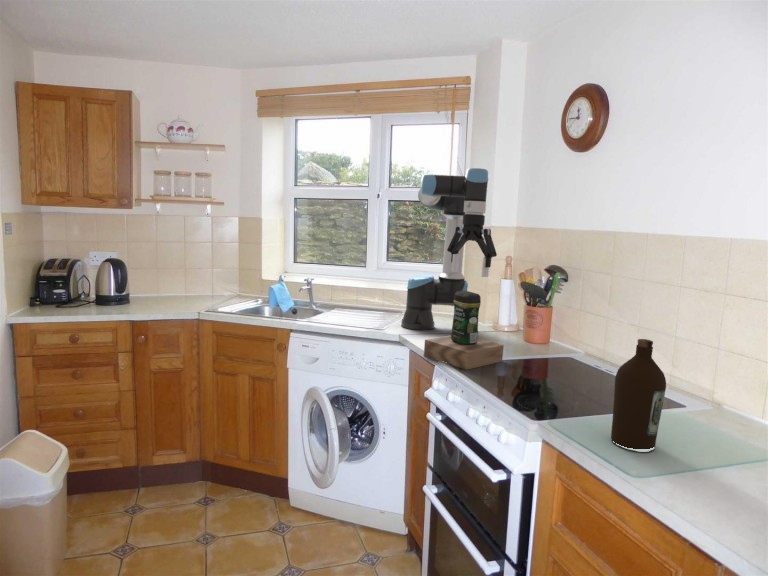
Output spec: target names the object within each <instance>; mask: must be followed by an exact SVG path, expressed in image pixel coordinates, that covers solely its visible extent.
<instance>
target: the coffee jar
mask: <svg viewBox="0 0 768 576" xmlns="http://www.w3.org/2000/svg"><path fill="white" fill-rule="evenodd" d="M481 300H482V299H481V295H480V294H479V293H476V292H472V291H468V290H467V291H457V292H456V293H455V296H454V306H453V307H454V308H453V316H452V317H453V318H452V324H451V325H452V326H451V327H452V328H451V339H452V340H453V341H455V342H457V343H460V344H468V345H473V344H475V343H477V341H478V338H479V315H480V314H479V313H480V312H479V311H480V307H481V303H482V302H481Z"/></svg>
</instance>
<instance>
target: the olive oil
mask: <svg viewBox="0 0 768 576" xmlns="http://www.w3.org/2000/svg"><path fill="white" fill-rule="evenodd" d="M653 345H654V341H653V340H651V339H648V338H647V339H646V338H638V339H637V344H636V348H635V355H633V357H631V358H630V359H628V360H627V361H626V362H624V363H623V364H622V365H621V366H619V368H618V369H617V372H616V374H615V378H614V391H613V392H614V393H613V405H612V407H613V408H612V409H613V410H612V422H611V433H610V440H611V439H612V441H614V442H615V443H617V444H619V445H621V446H624V447H627V448H633V449H650V448H653V447H655V448H656V444H657V438H658V437H657V436H658V432H659V426H660V422H661V416H662V410H663V405H664V400H665V395H666V390H667V381H666V379H667V378H666V377H665V373H664V372H663V370H662V369H661V368H660V367H659V366H658V364H657V363H656V362H655V361H654V360H655V359H653V351H654V347H653ZM612 441H611V442H612Z"/></svg>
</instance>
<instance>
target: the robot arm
mask: <svg viewBox="0 0 768 576" xmlns="http://www.w3.org/2000/svg"><path fill="white" fill-rule="evenodd" d="M488 182H489V170H487V169H486V168H479V167H478V168H475V167H474V168H473V167H472V168H467V170H466V174H465V175H450V174H449V175H447V174H433V173H429V174H428V173H426V174H425V173H424V174H422V176H421V182H420V183H421V184H420V188H419V189H418V192H417V197H418V201H419V202H420V204H422V205H423V206H424V207H427V208H428V209H431V210H435V211H443V216H444V217H445V218H446V222H445V232H444V233H445V236H444V247H443V248H444V249H443V260H442V261H443V263H442V271H441V272H440V273H439V274H438V279H437V278H436V279H435V277H434V275H416V276H415V275H414V276H411V277H409V278H408V281H407V287H406V289H407V294H406V305H405V306H406V307H405V312H404V313H403V317H402V319H401V325H400V326H402V328H405V329H408V330H415V331H416V330H417V331H428V330H434V329H435V320H434V316H433V312H432V311H433V308H432V307H433V306H449V307H454V296H455V293H456V292H457V291H468V285H469V283H468V280H465V278H466V277H465V275H463V273H462V272H463V259H464V247H465V244H466V243H467V242H468V241H472V242H476V243H477V245H478V247H479V248H480V251H481V253H482V254H483V255H484V257H482V264H481V265H482V266H481V267H482V268H481V277H482V278H488V277H489V269H490V268H491V266H492V259H493V258H495V257H497V255H498V254H497V251H496V248H495V244H494V241H493V238H492V230H491V228H484V226H485V221H486V220H485V218H486V216H485V214H486V210H487V209H486V208H487V207H486V206H487V193H488V185H489V184H488Z"/></svg>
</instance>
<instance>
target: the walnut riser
mask: <svg viewBox="0 0 768 576" xmlns="http://www.w3.org/2000/svg"><path fill="white" fill-rule="evenodd" d="M423 346H424V348H423V356H424V357H427V358H429V359H433V360H436V361H439V362H441V361H444V362H447V363H449V364H448V365H450V366H453V367H457V368H461V369H463V370H466V371H468V370H472V369H475V368H480V367H484V366H488V365H492V364H497V363H501V362H503V358H504V344H502V343H498V342H493V341H490V340H487V339H482V338H479V337H478V341H477V343H475V344H473V345H468V344H460V343H457V342H455V341H453V340H452V339H451V335H446V336H438V337H434V338H433V337H432V338H427V339H424V345H423ZM444 362H443V363H444ZM447 363H446V364H447Z"/></svg>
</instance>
